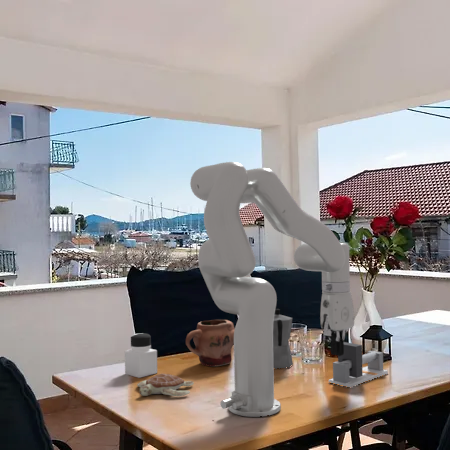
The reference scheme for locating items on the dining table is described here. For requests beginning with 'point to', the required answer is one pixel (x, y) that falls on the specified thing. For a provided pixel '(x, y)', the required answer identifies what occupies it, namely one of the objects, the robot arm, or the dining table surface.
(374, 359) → the pipe rig
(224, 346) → the brown clay mug
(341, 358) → the dark grey sliding block
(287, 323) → the coffeepot
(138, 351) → the medicine bottle
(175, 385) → the decorative turtle
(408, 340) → the dining table surface
